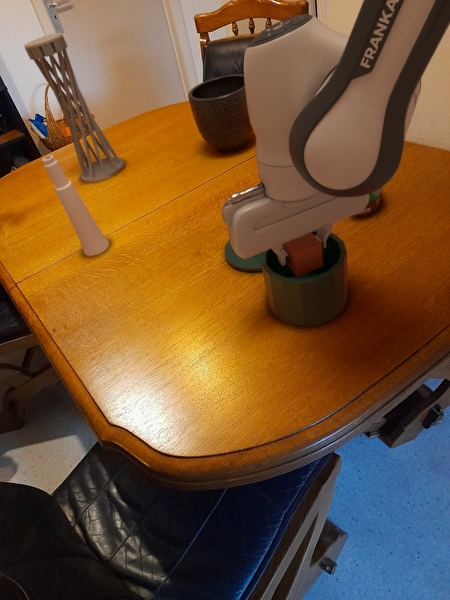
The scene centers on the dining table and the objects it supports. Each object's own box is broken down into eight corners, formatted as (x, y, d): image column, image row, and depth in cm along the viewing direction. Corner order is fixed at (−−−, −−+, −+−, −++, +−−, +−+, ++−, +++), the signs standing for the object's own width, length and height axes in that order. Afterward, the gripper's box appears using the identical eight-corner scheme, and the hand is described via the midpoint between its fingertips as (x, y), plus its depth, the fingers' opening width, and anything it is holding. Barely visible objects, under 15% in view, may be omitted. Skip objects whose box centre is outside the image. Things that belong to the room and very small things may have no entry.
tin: (338, 267, 71) (336, 222, 64) (354, 319, 62) (354, 273, 55) (266, 278, 73) (258, 236, 66) (272, 331, 64) (263, 288, 57)
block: (309, 250, 64) (307, 228, 61) (323, 266, 61) (321, 242, 58) (284, 261, 64) (280, 238, 60) (296, 277, 60) (294, 254, 57)
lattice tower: (74, 175, 125) (9, 48, 101) (110, 156, 130) (56, 30, 106) (94, 186, 116) (27, 49, 92) (132, 165, 121) (78, 30, 97)
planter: (205, 138, 123) (190, 82, 112) (261, 127, 120) (252, 68, 109) (200, 165, 111) (183, 105, 100) (262, 153, 108) (252, 90, 97)
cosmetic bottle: (112, 247, 91) (65, 155, 76) (88, 260, 90) (35, 168, 75) (105, 236, 95) (59, 147, 80) (81, 248, 94) (30, 159, 79)
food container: (389, 219, 77) (393, 171, 70) (355, 222, 79) (356, 175, 72) (382, 185, 85) (385, 139, 79) (351, 188, 87) (351, 144, 80)
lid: (290, 223, 83) (287, 204, 80) (299, 266, 73) (296, 245, 70) (225, 235, 85) (220, 216, 82) (225, 278, 75) (220, 259, 72)
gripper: (227, 211, 48) (247, 293, 58) (378, 152, 50) (373, 240, 60) (210, 189, 53) (232, 269, 62) (349, 136, 55) (350, 220, 64)
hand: (302, 254), depth 61 cm, fingers closed on block, 4 cm apart
